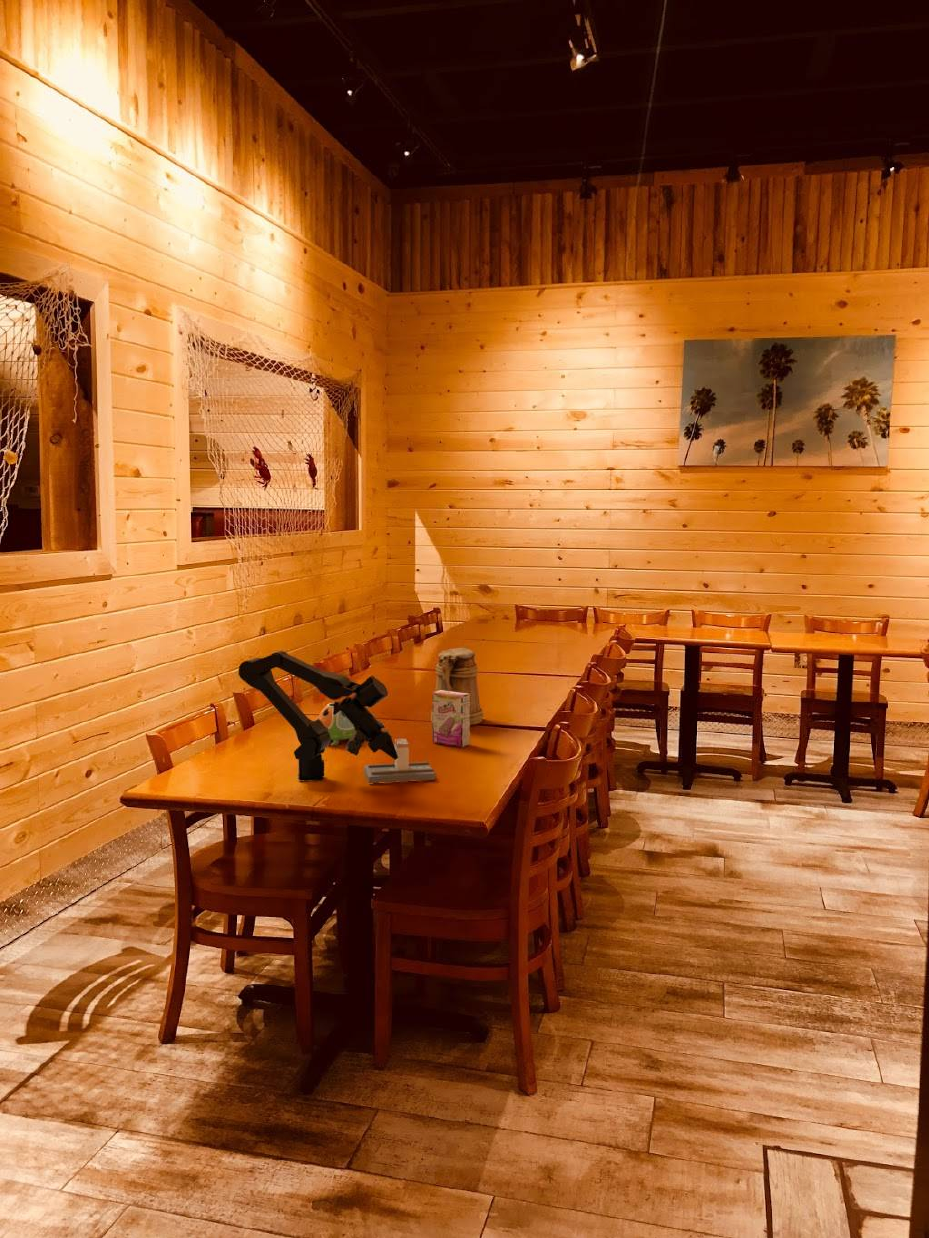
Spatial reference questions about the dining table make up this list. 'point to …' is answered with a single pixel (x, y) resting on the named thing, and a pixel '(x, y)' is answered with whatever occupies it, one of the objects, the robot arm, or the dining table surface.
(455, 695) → the candy bar box
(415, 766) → the toy road segment
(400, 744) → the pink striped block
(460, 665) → the tankard
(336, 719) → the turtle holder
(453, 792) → the dining table surface
